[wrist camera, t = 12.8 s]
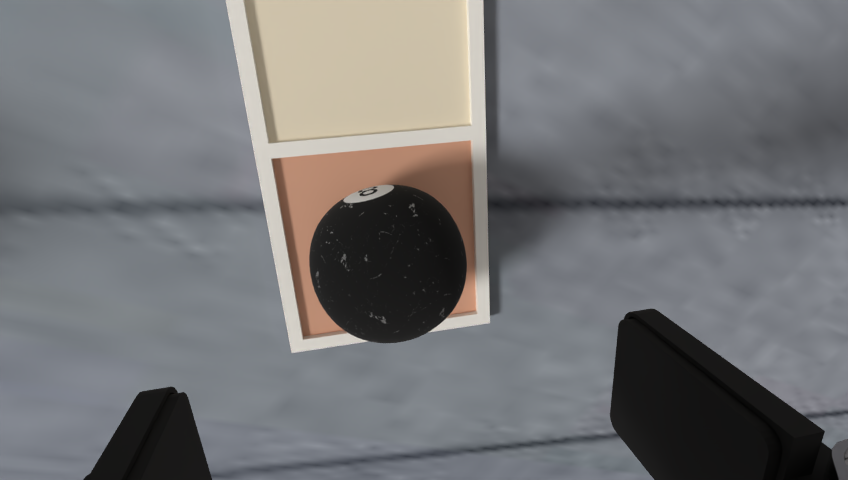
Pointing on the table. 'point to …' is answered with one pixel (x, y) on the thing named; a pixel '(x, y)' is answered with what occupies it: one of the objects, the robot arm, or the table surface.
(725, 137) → the table surface
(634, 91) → the table surface
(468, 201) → the board
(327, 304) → the billiard ball
